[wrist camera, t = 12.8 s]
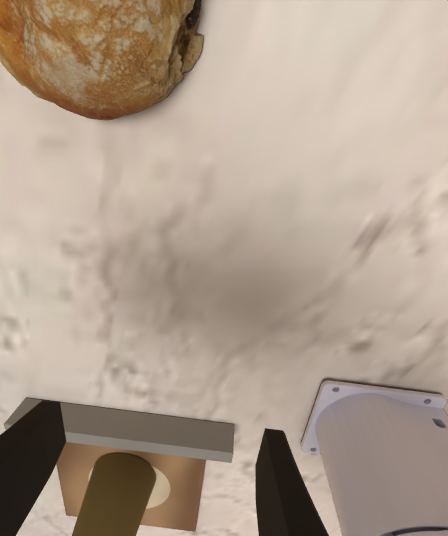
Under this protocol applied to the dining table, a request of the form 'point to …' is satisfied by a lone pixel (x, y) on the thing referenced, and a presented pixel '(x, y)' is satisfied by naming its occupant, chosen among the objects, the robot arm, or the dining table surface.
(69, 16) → the bread roll
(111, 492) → the cork
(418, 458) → the robot arm
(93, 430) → the low wall
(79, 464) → the walnut board
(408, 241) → the dining table surface
